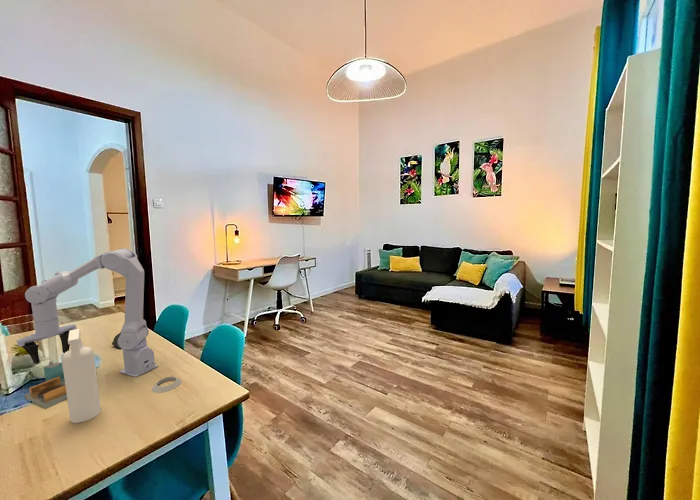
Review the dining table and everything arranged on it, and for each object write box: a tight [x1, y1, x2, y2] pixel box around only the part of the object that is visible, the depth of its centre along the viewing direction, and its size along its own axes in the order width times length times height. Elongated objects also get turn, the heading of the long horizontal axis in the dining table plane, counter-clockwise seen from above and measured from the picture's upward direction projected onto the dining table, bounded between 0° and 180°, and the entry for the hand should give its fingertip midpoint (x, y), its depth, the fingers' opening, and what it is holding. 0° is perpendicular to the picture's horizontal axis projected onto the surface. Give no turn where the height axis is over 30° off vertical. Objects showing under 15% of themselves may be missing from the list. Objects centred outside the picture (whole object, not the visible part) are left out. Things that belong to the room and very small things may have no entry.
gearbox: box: [24, 377, 67, 409], centre depth 94 cm, size 12×11×4 cm
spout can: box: [43, 360, 65, 382], centre depth 103 cm, size 4×4×6 cm
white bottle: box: [61, 328, 102, 424], centre depth 83 cm, size 7×12×25 cm, turn 38°
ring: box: [151, 376, 182, 394], centre depth 98 cm, size 8×8×2 cm
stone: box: [111, 331, 123, 350], centre depth 131 cm, size 7×13×5 cm, turn 29°
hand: (51, 357), depth 102 cm, fingers open, 7 cm apart
